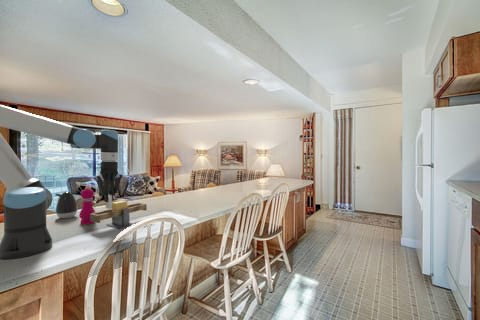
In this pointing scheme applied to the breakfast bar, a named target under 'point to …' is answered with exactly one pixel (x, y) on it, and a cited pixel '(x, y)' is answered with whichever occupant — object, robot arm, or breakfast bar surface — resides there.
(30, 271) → the breakfast bar surface
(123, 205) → the block
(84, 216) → the magenta figurine
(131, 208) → the beam
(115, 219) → the fulcrum
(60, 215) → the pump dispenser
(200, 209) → the breakfast bar surface
